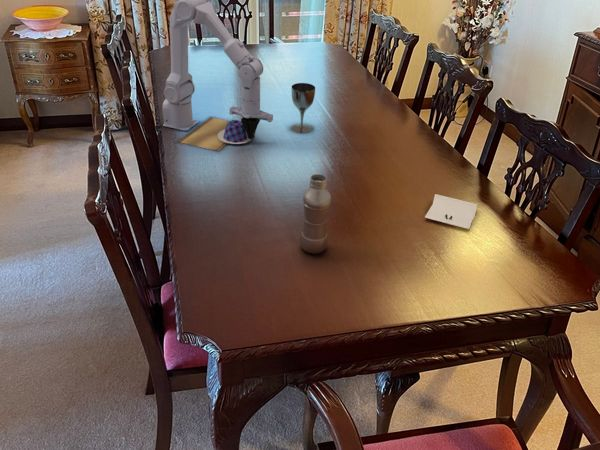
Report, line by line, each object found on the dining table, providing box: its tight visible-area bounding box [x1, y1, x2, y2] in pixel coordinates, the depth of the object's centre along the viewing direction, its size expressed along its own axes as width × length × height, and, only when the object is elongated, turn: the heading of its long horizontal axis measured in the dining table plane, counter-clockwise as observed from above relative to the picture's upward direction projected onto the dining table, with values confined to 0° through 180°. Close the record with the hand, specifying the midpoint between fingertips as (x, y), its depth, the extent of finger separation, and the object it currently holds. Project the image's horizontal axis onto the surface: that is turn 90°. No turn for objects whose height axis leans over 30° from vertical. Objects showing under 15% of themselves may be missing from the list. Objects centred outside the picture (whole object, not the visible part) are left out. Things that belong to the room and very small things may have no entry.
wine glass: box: [290, 82, 316, 134], centre depth 189 cm, size 8×8×15 cm
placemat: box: [177, 117, 230, 152], centre depth 187 cm, size 15×22×1 cm
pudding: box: [217, 119, 253, 145], centre depth 183 cm, size 12×12×5 cm
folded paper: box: [424, 193, 478, 230], centre depth 150 cm, size 12×12×2 cm
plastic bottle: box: [299, 173, 332, 255], centre depth 130 cm, size 6×7×20 cm
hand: (251, 137), depth 182 cm, fingers closed
